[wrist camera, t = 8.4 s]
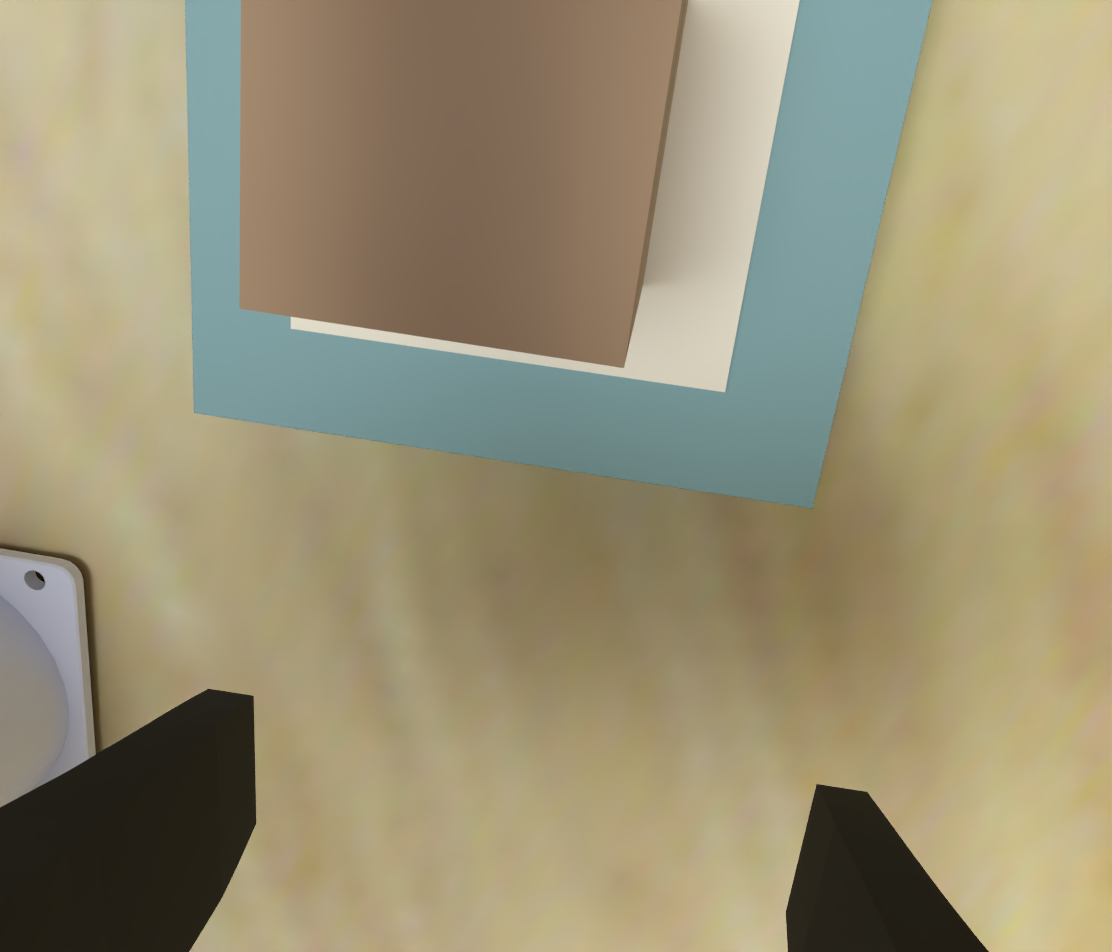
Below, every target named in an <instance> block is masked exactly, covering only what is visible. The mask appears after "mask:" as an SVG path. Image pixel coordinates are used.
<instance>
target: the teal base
mask: <svg viewBox="0 0 1112 952" xmlns="http://www.w3.org/2000/svg"><path fill="white" fill-rule="evenodd" d="M931 5H932V0H688V5H687V12H686V18H685V24H684V30H683V37H682V43H681V49H680V55H679V62H678V68H677V74H676V80H675V87H674V93H673V99H672V105H671V112H670V118H669V124H668V130H667V137H666V143H665V149H664V155H663V162H662V168H661V174H660V180H659V187H658V193H657V199H656V205H655V212H654V218H653V224H652V230H651V237H650V243H649V249H648V255H647V262H646V268H645V274H644V280H643V287H642V291H641V296H640V300H639V304H638V309H637V313H636V318H635V322H634V326H633V331H632V335H631V339H630V344H629V348H628V353H627V357H626V361H625V366H624V368H619V367H613V366H607V365H600V364H594V363H587V362H581V361H574V360H568V359H561V358H555V357H548V356H542V355H535V354H529V353H523V352H516V351H510V350H503V349H497V348H490V347H484V346H477V345H471V344H464V343H458V342H451V341H445V340H439V339H432V338H426V337H419V336H413V335H406V334H400V333H393V332H387V331H380V330H374V329H367V328H361V327H355V326H348V325H342V324H335V323H329V322H322V321H316V320H309V319H303V318H296V317H290V316H283V315H277V314H270V313H264V312H258V311H251V310H245V309H239V293H240V90H241V0H185V22H186V68H187V113H188V159H189V204H190V250H191V295H192V341H193V386H194V413H198V414H204V415H211V416H217V417H223V418H230V419H236V420H243V421H249V422H256V423H262V424H269V425H275V426H282V427H288V428H295V429H301V430H307V431H314V432H320V433H327V434H333V435H340V436H346V437H353V438H359V439H366V440H372V441H379V442H385V443H391V444H398V445H404V446H411V447H417V448H424V449H430V450H437V451H443V452H450V453H456V454H463V455H469V456H475V457H482V458H488V459H495V460H501V461H508V462H514V463H521V464H527V465H534V466H540V467H547V468H553V469H559V470H566V471H572V472H579V473H585V474H592V475H598V476H605V477H611V478H618V479H624V480H631V481H637V482H643V483H650V484H656V485H663V486H669V487H676V488H682V489H689V490H695V491H702V492H708V493H715V494H721V495H727V496H734V497H740V498H747V499H753V500H760V501H766V502H773V503H779V504H786V505H792V506H798V507H805V508H811V509H812V508H813V504H814V499H815V495H816V491H817V487H818V482H819V478H820V474H821V470H822V466H823V461H824V457H825V453H826V449H827V444H828V440H829V436H830V432H831V427H832V423H833V419H834V415H835V411H836V406H837V402H838V398H839V394H840V389H841V385H842V381H843V377H844V373H845V368H846V364H847V360H848V356H849V351H850V347H851V343H852V339H853V334H854V330H855V326H856V322H857V318H858V313H859V309H860V305H861V301H862V296H863V292H864V288H865V284H866V279H867V275H868V271H869V267H870V263H871V258H872V254H873V250H874V246H875V241H876V237H877V233H878V229H879V224H880V220H881V216H882V212H883V208H884V203H885V199H886V195H887V191H888V186H889V182H890V178H891V174H892V169H893V165H894V161H895V157H896V153H897V148H898V144H899V140H900V136H901V131H902V127H903V123H904V119H905V114H906V110H907V106H908V102H909V98H910V93H911V89H912V85H913V81H914V76H915V72H916V68H917V64H918V59H919V55H920V51H921V47H922V43H923V38H924V34H925V30H926V26H927V21H928V17H929V13H930V9H931Z"/></svg>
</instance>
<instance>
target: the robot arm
mask: <svg viewBox="0 0 1112 952" xmlns="http://www.w3.org/2000/svg"><path fill="white" fill-rule="evenodd" d="M35 571H37V572H39V573H40V574H41V575H42V576H43V577H44V580H45V582H43V581H41V580H40V579H39V578H38V577H37V576H36V573H35ZM255 825H256V792H255V745H254V699H253V696H250V695H244V694H238V693H231V692H225V691H219V690H212V689H207V690H206V691H204V692H202V693H200V694H198V695H196V696H194V697H193V698H191V699H189V700H187V701H186V702H184V703H182V704H180V705H179V706H177V707H175V708H174V709H172V710H170V711H169V712H167V713H165V714H163V715H162V716H160V717H158V718H157V719H155V720H153V721H152V722H150V723H148V724H147V725H145V726H143V727H142V728H140V729H138V730H137V731H135V732H133V733H132V734H130V735H128V736H127V737H125V738H123V739H122V740H120V741H118V742H117V743H115V744H113V745H111V746H110V747H108V748H106V749H105V750H103V751H101V752H99V753H98V754H96V751H95V737H94V723H93V709H92V695H91V681H90V667H89V653H88V639H87V625H86V611H85V597H84V583H83V578H82V574H81V572H80V571H79V569H78V568H77V566H75V565H74V564H73V563H71V562H70V561H67V560H64V559H61V558H55V557H49V556H43V555H37V554H31V553H25V552H19V551H13V550H7V549H1V548H0V952H189V951H190V949H191V948H192V946H193V944H194V943H195V941H196V940H197V938H198V936H199V935H200V933H201V931H202V930H203V928H204V926H205V925H206V923H207V922H208V920H209V918H210V917H211V915H212V913H213V912H214V910H215V908H216V907H217V905H218V903H219V902H220V900H221V898H222V897H223V895H224V892H225V890H226V888H227V886H228V884H229V882H230V880H231V878H232V876H233V874H234V871H235V869H236V867H237V865H238V863H239V861H240V859H241V856H242V854H243V852H244V850H245V847H246V845H247V843H248V840H249V838H250V836H251V834H252V831H253V829H254V827H255ZM786 923H787V941H788V952H988V950H987V949H986V948H985V947H984V945H983V944H982V943H981V942H980V941H979V939H978V938H977V937H976V936H975V935H974V933H973V932H972V931H971V930H970V928H969V927H968V926H967V924H966V923H965V922H964V921H963V919H962V918H961V917H960V916H959V914H958V913H957V912H956V911H955V909H954V908H953V907H952V906H951V904H950V903H949V902H948V900H947V899H946V898H945V897H944V895H943V894H942V893H941V891H940V890H939V889H938V887H937V886H936V885H935V883H934V882H933V881H932V879H931V878H930V877H929V875H928V874H927V873H926V871H925V870H924V869H923V867H922V866H921V865H920V863H919V862H918V861H917V859H916V858H915V857H914V855H913V854H912V852H911V851H910V850H909V848H908V847H907V846H906V844H905V843H904V842H903V840H902V839H901V837H900V836H899V835H898V833H897V832H896V831H895V829H894V828H893V826H892V825H891V824H890V822H889V821H888V820H887V818H886V817H885V816H884V814H883V813H882V811H881V810H880V809H879V807H878V806H877V805H876V803H875V802H874V801H873V799H872V798H871V797H870V795H869V794H868V793H867V792H863V791H857V790H850V789H844V788H838V787H831V786H825V785H818V784H817V785H816V790H815V794H814V798H813V802H812V806H811V810H810V814H809V819H808V823H807V827H806V831H805V835H804V839H803V843H802V848H801V852H800V856H799V860H798V864H797V868H796V872H795V877H794V881H793V885H792V889H791V893H790V897H789V901H788V906H787V910H786Z"/></svg>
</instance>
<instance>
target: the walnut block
mask: <svg viewBox="0 0 1112 952" xmlns="http://www.w3.org/2000/svg"><path fill="white" fill-rule="evenodd" d="M687 5H688V0H241V90H240V293H239V309H245V310H251V311H258V312H264V313H270V314H277V315H283V316H290V317H296V318H303V319H309V320H316V321H322V322H329V323H335V324H342V325H348V326H355V327H361V328H367V329H374V330H380V331H387V332H393V333H400V334H406V335H413V336H419V337H426V338H432V339H439V340H445V341H451V342H458V343H464V344H471V345H477V346H484V347H490V348H497V349H503V350H510V351H516V352H523V353H529V354H535V355H542V356H548V357H555V358H561V359H568V360H574V361H581V362H587V363H594V364H600V365H607V366H613V367H619V368H624V366H625V361H626V357H627V353H628V348H629V344H630V339H631V335H632V331H633V326H634V322H635V318H636V313H637V309H638V304H639V300H640V296H641V291H642V287H643V280H644V274H645V268H646V262H647V255H648V249H649V243H650V237H651V230H652V224H653V218H654V212H655V205H656V199H657V193H658V187H659V180H660V174H661V168H662V162H663V155H664V149H665V143H666V137H667V130H668V124H669V118H670V112H671V105H672V99H673V93H674V87H675V80H676V74H677V68H678V62H679V55H680V49H681V43H682V37H683V30H684V24H685V18H686V12H687Z"/></svg>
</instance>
